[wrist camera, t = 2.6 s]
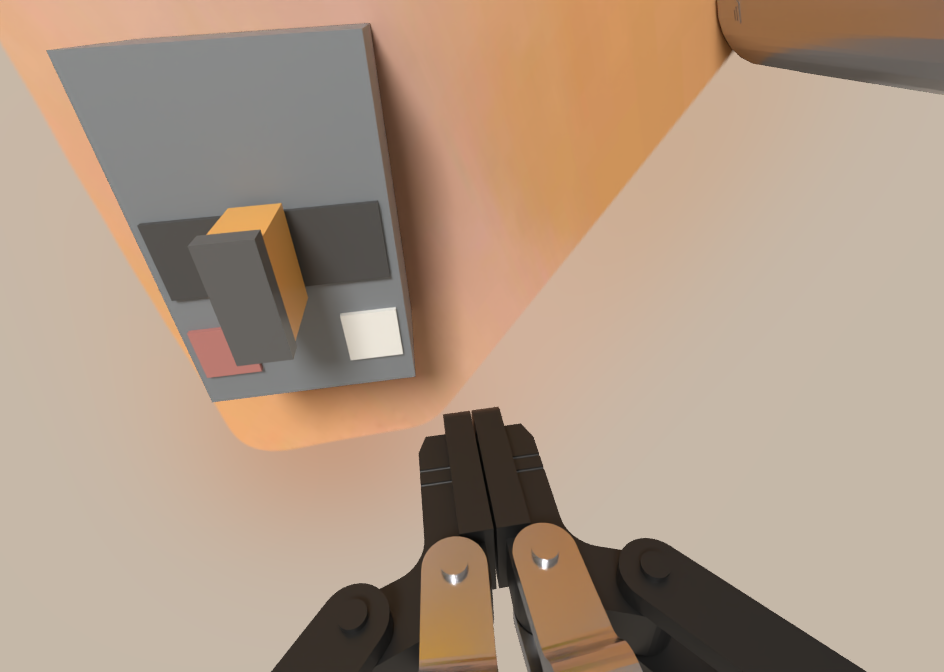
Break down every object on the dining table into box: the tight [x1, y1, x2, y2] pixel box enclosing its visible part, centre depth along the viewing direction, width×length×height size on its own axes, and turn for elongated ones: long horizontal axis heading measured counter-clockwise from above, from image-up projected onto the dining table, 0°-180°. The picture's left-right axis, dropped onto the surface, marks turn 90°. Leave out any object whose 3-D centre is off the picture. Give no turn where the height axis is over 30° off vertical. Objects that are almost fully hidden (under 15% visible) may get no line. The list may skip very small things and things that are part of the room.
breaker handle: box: [188, 203, 308, 366], centre depth 22 cm, size 2×6×5 cm, turn 3°
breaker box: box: [46, 23, 415, 402], centre depth 27 cm, size 12×18×8 cm, turn 3°
